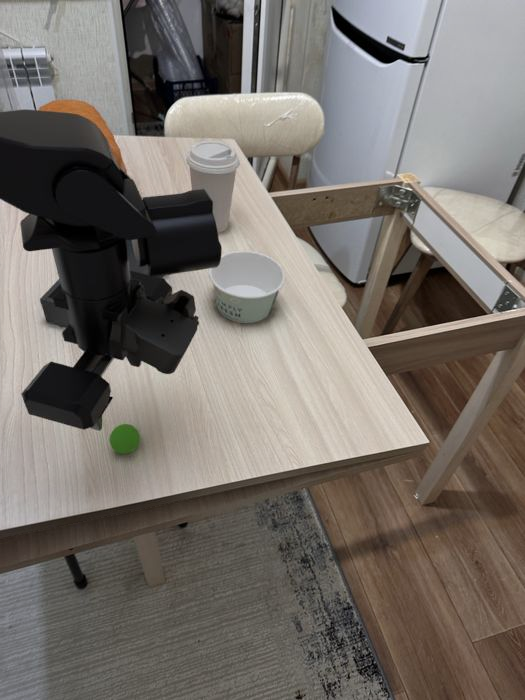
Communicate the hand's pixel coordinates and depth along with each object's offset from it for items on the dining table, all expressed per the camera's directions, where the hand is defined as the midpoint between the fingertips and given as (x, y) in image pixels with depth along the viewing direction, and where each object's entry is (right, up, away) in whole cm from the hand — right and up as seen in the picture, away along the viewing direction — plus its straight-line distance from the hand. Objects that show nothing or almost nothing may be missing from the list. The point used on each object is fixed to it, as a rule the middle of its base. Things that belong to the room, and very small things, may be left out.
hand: (117, 395), depth 52 cm
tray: (-8, +16, +29) cm, 34 cm away
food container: (+13, +12, +28) cm, 33 cm away
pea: (-1, -7, +7) cm, 10 cm away
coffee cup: (+5, +30, +44) cm, 53 cm away
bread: (-21, +36, +47) cm, 63 cm away
